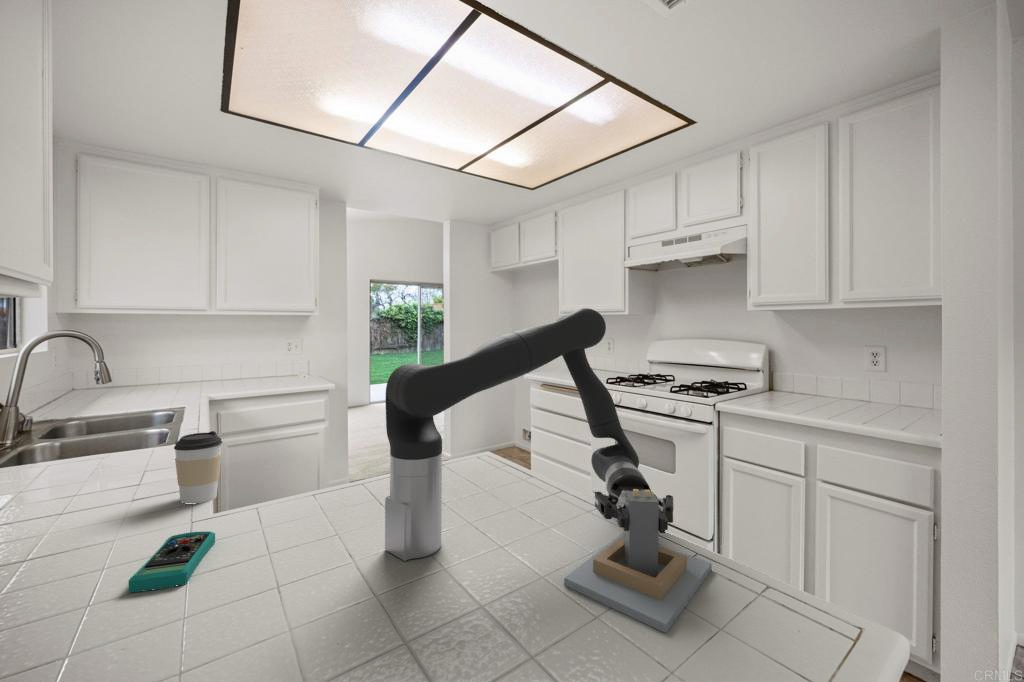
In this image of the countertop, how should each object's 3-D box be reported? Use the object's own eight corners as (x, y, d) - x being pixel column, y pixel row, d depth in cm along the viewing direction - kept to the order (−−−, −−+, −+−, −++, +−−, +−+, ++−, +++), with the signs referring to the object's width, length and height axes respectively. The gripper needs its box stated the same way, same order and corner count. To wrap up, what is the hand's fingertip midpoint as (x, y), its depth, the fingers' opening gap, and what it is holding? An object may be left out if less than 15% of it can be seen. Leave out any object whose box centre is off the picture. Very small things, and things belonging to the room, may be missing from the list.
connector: (628, 576, 67) (629, 494, 67) (624, 562, 72) (625, 484, 71) (657, 578, 67) (658, 495, 67) (651, 563, 71) (652, 485, 71)
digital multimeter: (217, 543, 80) (216, 527, 80) (185, 588, 66) (185, 569, 66) (169, 549, 77) (169, 533, 77) (126, 597, 63) (126, 578, 63)
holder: (666, 633, 56) (666, 609, 56) (564, 585, 67) (564, 565, 67) (711, 570, 72) (711, 551, 71) (622, 539, 82) (622, 522, 82)
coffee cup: (184, 510, 93) (184, 441, 92) (167, 500, 98) (166, 435, 97) (230, 496, 100) (229, 433, 100) (211, 488, 105) (211, 427, 105)
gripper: (589, 465, 84) (598, 499, 67) (664, 468, 82) (693, 504, 65) (588, 503, 84) (597, 547, 67) (664, 507, 83) (692, 552, 66)
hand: (644, 525), depth 66 cm, fingers open, 5 cm apart
